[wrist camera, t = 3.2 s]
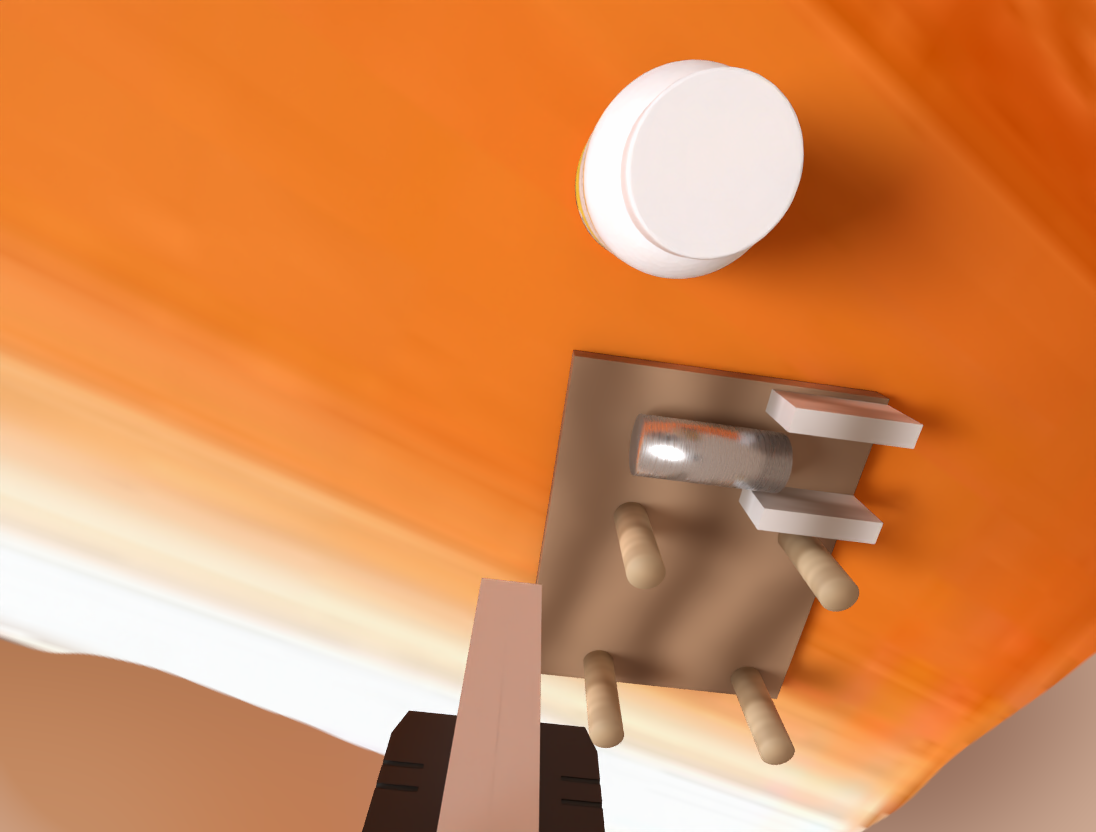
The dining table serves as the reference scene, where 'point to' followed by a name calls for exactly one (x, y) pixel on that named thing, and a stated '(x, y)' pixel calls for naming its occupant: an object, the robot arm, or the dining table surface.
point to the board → (699, 538)
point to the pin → (710, 454)
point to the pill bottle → (689, 168)
